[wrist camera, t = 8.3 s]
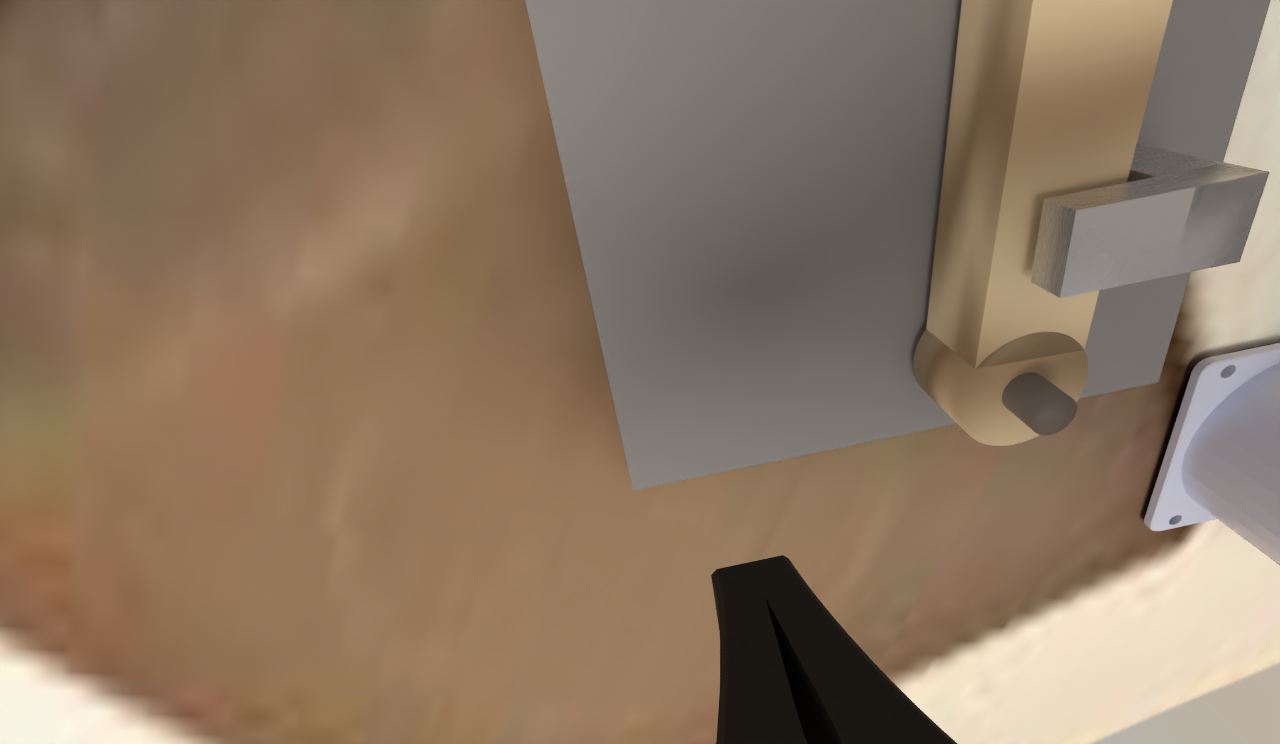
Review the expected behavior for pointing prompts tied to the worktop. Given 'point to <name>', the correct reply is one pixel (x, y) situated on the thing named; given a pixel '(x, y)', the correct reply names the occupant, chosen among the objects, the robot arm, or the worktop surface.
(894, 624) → the worktop surface
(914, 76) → the slate board
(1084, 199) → the steel keeper
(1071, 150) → the oak link
